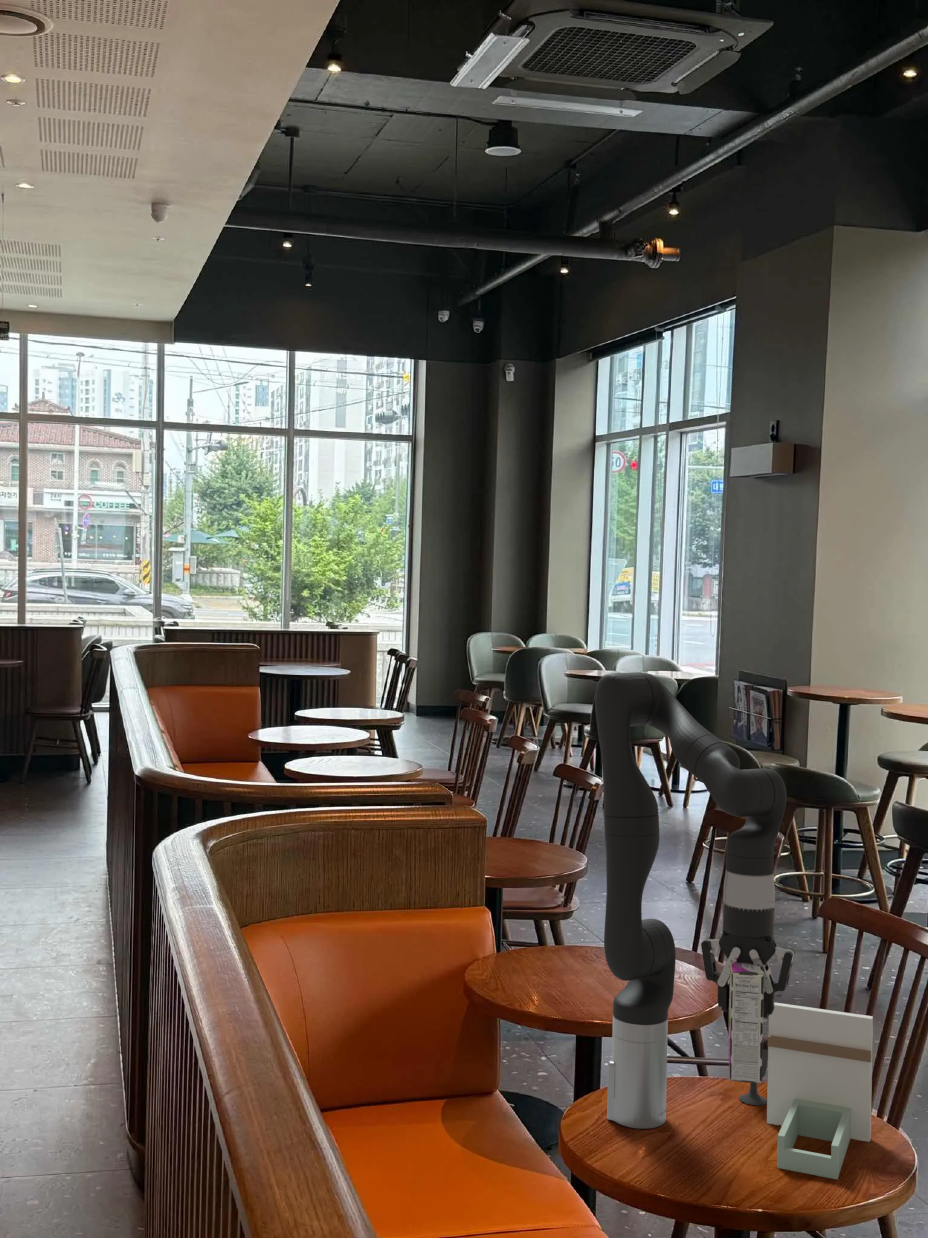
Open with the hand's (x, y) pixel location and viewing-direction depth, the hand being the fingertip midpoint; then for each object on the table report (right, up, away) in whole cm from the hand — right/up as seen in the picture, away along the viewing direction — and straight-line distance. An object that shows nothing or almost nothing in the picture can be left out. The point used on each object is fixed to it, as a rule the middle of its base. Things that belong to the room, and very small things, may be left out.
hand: (745, 1012), depth 184 cm
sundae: (+8, -26, +31) cm, 41 cm away
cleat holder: (+13, -25, +11) cm, 31 cm away
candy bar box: (0, -9, 0) cm, 9 cm away
